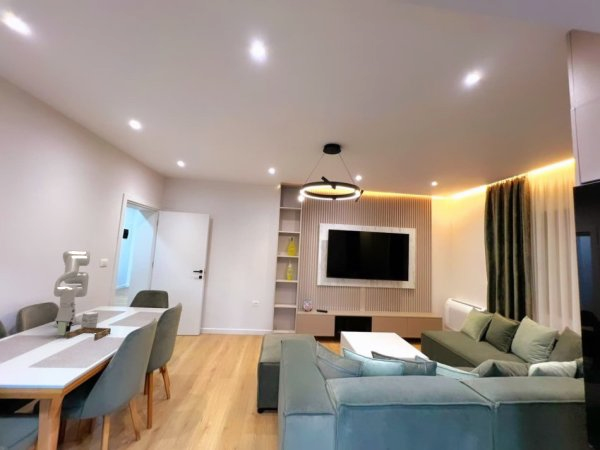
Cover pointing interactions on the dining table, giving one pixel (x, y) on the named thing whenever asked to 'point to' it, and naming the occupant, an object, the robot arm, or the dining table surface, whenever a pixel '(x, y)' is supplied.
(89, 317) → the supplement box
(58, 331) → the sage block
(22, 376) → the dining table surface
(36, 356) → the dining table surface
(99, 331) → the wooden u-shaped frame
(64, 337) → the slate coaster
